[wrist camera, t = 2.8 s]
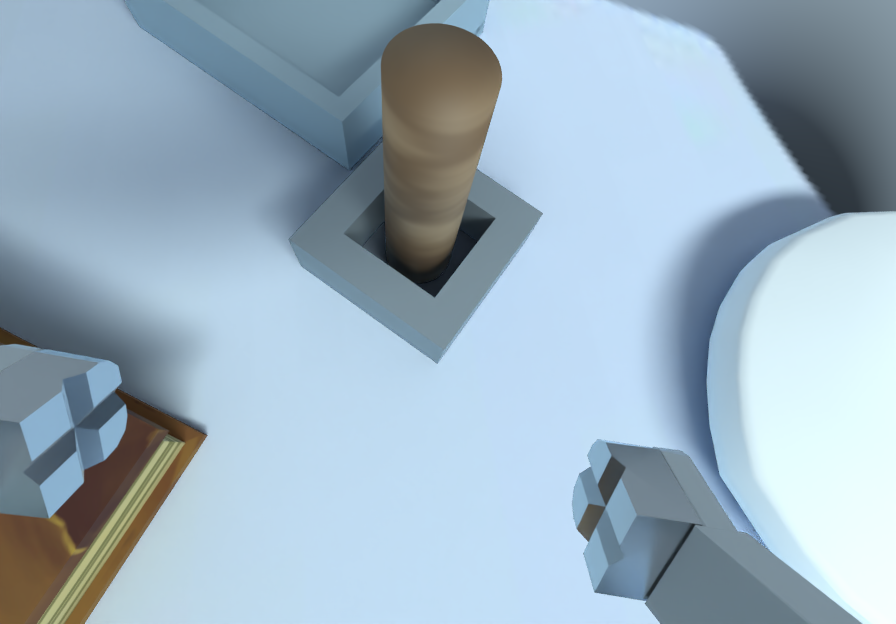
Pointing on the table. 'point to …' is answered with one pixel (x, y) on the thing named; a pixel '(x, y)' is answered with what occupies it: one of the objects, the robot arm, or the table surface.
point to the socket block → (383, 288)
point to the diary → (91, 520)
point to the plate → (815, 405)
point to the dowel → (432, 140)
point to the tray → (302, 56)
